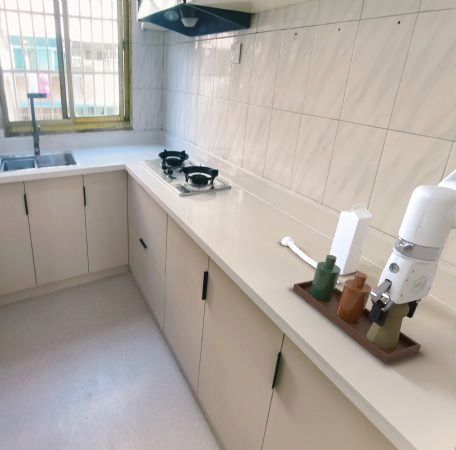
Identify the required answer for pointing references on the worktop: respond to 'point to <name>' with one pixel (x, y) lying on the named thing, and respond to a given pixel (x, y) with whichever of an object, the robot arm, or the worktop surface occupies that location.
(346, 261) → the milk
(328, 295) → the green bottle
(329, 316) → the tray
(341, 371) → the worktop surface
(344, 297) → the amber bottle
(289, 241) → the spatula
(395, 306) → the cork
